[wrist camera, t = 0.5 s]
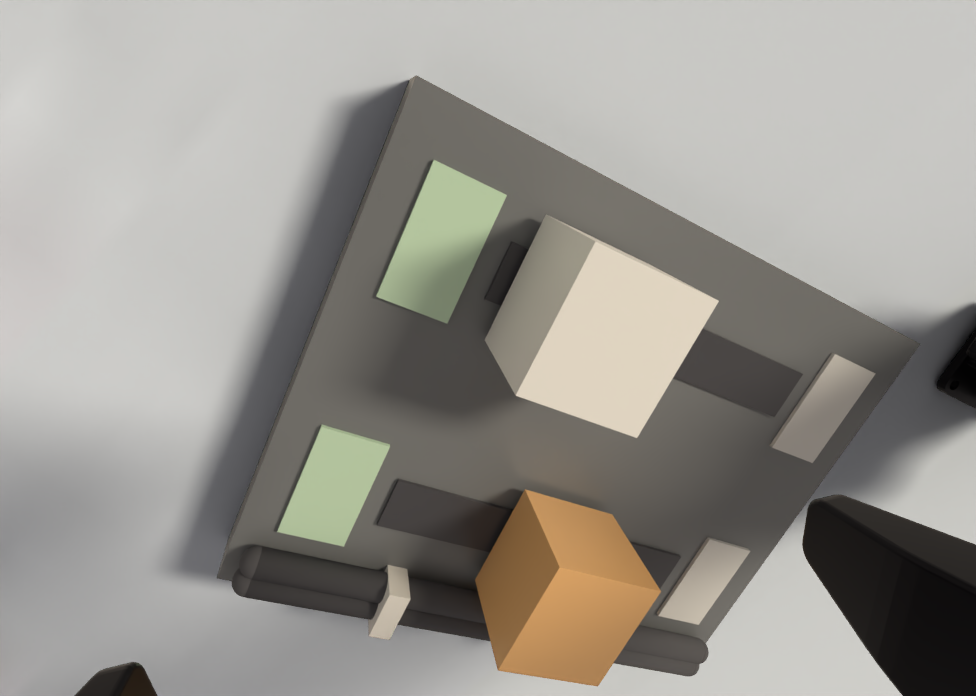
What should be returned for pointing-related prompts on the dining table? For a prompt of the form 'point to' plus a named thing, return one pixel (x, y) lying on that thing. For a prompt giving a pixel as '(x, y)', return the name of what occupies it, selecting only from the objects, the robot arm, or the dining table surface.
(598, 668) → the block
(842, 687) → the dining table surface
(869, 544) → the robot arm
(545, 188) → the breaker panel
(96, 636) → the dining table surface
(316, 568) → the cord bundle
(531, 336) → the block
